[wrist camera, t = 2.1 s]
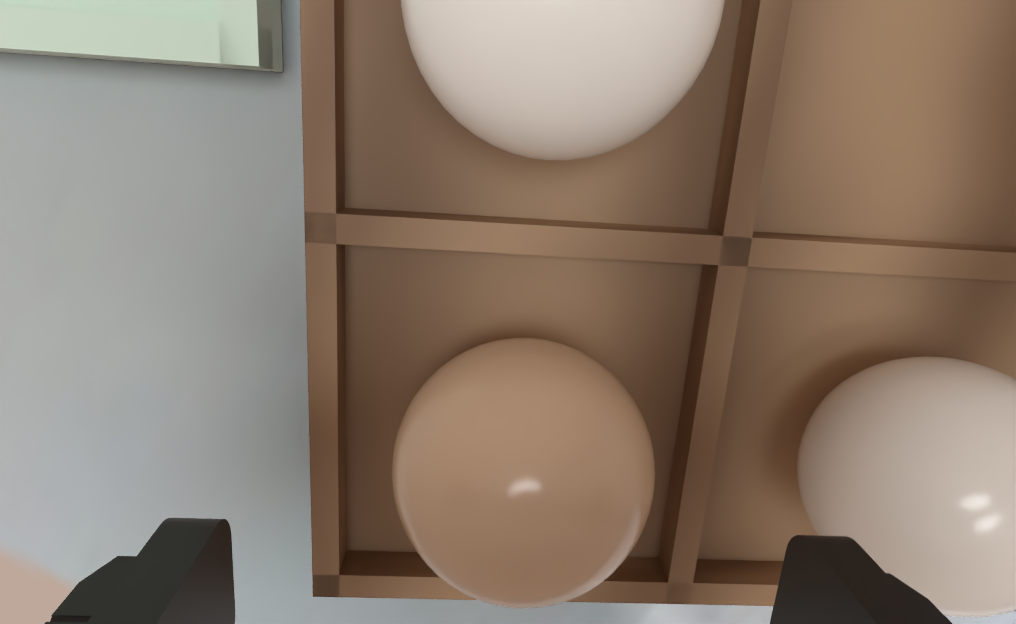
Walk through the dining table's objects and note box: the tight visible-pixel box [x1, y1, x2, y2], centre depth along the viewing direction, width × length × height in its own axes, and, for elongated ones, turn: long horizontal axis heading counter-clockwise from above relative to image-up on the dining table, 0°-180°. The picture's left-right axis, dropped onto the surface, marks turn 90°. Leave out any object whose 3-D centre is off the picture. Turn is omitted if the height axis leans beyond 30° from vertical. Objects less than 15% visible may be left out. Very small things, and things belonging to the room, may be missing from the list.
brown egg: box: [392, 338, 655, 608], centre depth 13 cm, size 5×5×5 cm
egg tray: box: [300, 0, 1016, 611], centre depth 15 cm, size 17×17×4 cm
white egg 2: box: [797, 357, 1016, 617], centre depth 13 cm, size 5×5×5 cm
